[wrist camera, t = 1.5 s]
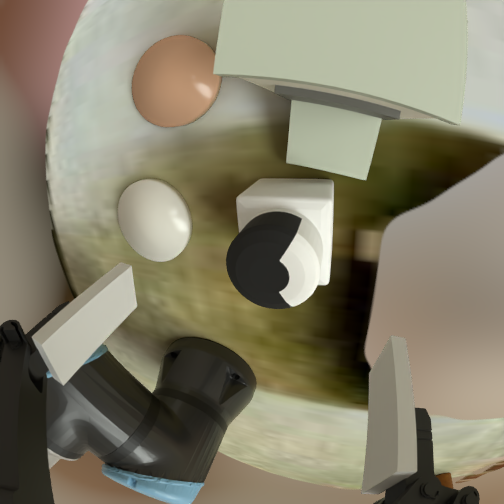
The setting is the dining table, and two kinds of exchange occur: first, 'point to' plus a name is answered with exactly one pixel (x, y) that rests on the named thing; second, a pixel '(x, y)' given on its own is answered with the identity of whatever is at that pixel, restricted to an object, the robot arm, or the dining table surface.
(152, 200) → the white domed round part
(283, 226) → the medicine bottle
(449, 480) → the disposable coffee cup
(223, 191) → the dining table surface
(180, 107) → the peach round disc
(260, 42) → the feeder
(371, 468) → the robot arm
